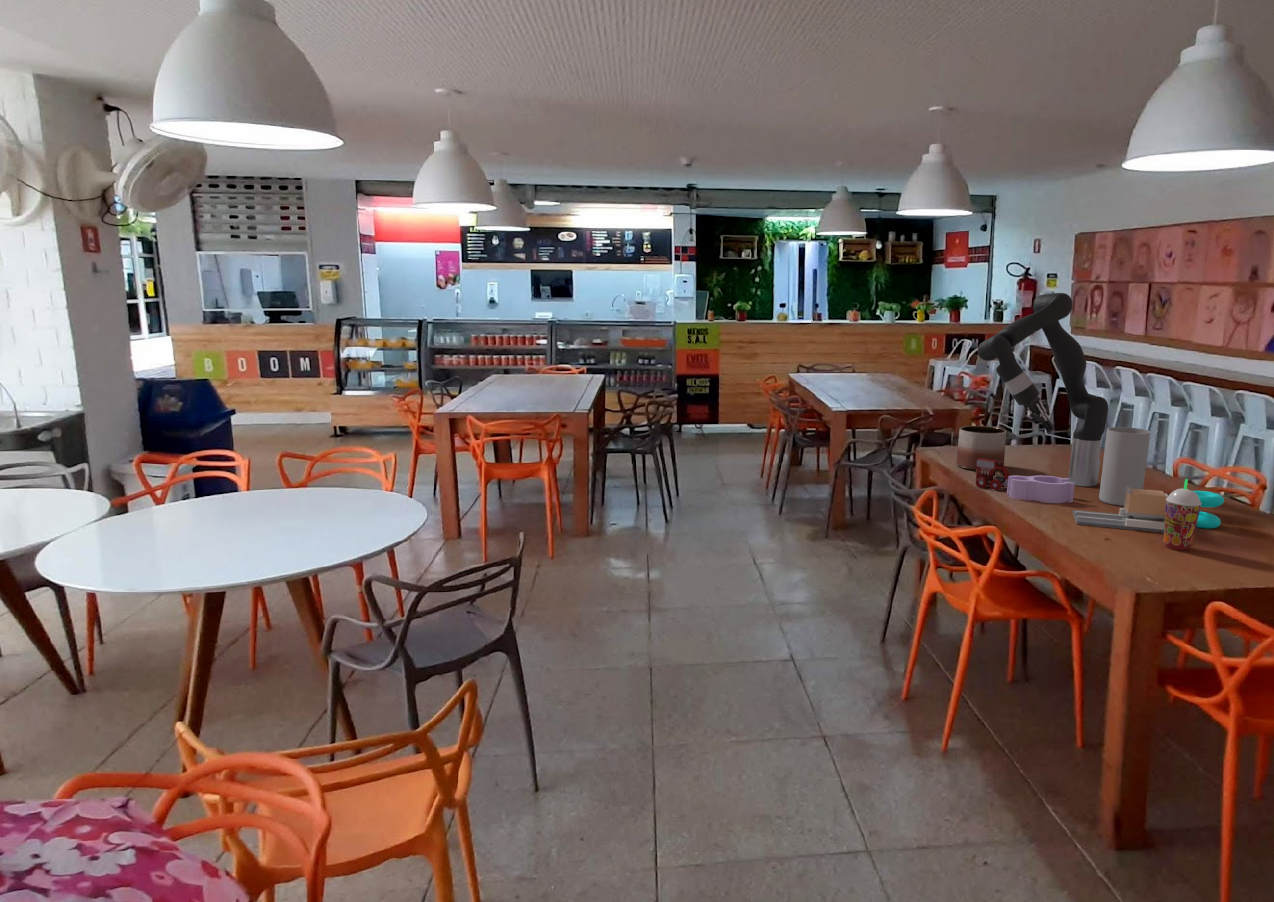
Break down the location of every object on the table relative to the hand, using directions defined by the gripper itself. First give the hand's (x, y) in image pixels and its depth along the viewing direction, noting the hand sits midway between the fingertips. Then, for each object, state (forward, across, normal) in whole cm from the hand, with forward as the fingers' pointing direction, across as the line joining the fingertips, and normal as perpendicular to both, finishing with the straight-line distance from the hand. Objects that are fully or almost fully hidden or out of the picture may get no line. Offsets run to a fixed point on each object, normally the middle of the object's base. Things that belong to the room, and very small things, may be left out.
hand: (1051, 430), depth 270 cm
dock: (+32, -16, -10) cm, 37 cm away
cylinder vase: (+35, +10, +1) cm, 36 cm away
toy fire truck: (+11, -1, +32) cm, 34 cm away
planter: (+9, +27, +51) cm, 59 cm away
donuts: (+46, -1, -22) cm, 51 cm away
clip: (+20, -3, +17) cm, 26 cm away
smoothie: (+38, -30, -28) cm, 56 cm away
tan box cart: (+34, -13, -15) cm, 39 cm away
